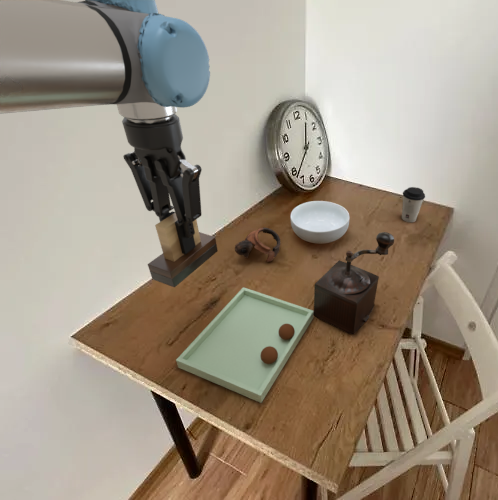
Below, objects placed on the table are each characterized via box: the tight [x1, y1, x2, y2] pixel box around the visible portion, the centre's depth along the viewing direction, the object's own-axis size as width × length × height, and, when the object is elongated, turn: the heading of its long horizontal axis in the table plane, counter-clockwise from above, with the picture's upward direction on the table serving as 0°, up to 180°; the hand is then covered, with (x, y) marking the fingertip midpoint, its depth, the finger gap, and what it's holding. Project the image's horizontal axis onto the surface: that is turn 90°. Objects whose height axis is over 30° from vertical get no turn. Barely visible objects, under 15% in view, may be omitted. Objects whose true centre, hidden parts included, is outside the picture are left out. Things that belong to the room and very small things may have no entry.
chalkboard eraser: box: [147, 213, 219, 288], centre depth 64 cm, size 12×5×10 cm, turn 158°
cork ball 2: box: [279, 324, 295, 340], centre depth 71 cm, size 3×3×3 cm
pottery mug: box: [234, 227, 282, 263], centre depth 92 cm, size 12×10×8 cm
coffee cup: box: [401, 186, 426, 223], centre depth 112 cm, size 7×7×10 cm
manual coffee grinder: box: [313, 231, 395, 336], centre depth 76 cm, size 16×11×18 cm
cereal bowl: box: [289, 200, 350, 245], centre depth 102 cm, size 17×17×7 cm
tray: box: [175, 286, 314, 404], centre depth 71 cm, size 22×18×2 cm
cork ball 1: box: [260, 346, 278, 364], centre depth 66 cm, size 3×3×3 cm
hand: (182, 247), depth 65 cm, fingers closed on chalkboard eraser, 2 cm apart
